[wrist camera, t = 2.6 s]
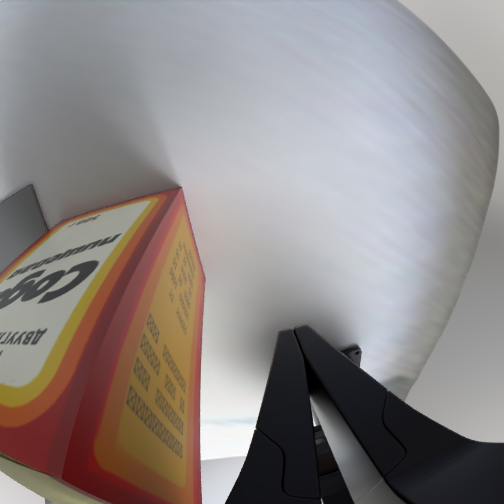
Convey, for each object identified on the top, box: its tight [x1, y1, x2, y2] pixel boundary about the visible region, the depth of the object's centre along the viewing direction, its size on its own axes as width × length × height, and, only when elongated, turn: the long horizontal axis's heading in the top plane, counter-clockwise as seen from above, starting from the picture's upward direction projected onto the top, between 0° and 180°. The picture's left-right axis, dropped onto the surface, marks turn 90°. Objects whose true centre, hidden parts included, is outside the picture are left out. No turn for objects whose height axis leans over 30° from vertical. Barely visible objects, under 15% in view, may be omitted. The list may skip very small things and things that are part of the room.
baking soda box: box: [0, 187, 205, 504], centre depth 10 cm, size 10×6×16 cm
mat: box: [0, 184, 48, 273], centre depth 17 cm, size 14×16×1 cm
